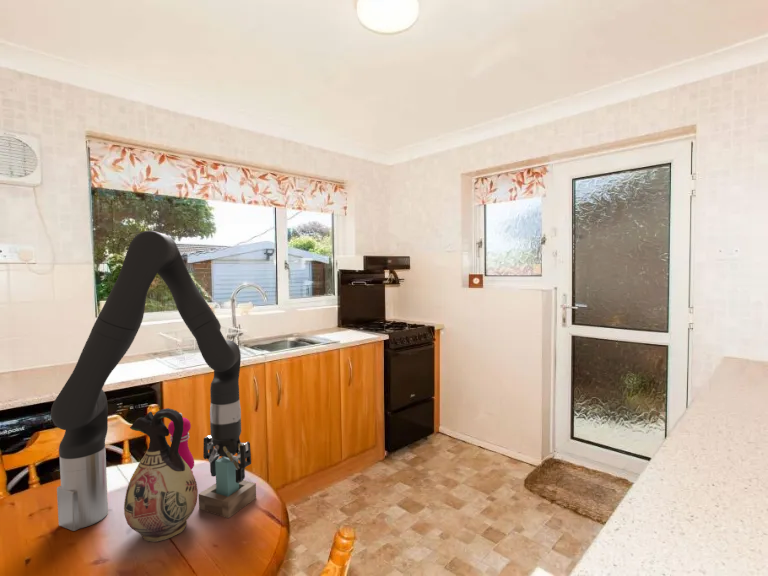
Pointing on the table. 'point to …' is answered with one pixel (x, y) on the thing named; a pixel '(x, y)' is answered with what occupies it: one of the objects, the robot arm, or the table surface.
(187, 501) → the ceramic jug
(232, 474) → the peg
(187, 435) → the pepper mill
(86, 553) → the table surface
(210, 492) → the socket block
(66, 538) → the table surface
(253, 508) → the table surface
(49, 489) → the table surface
